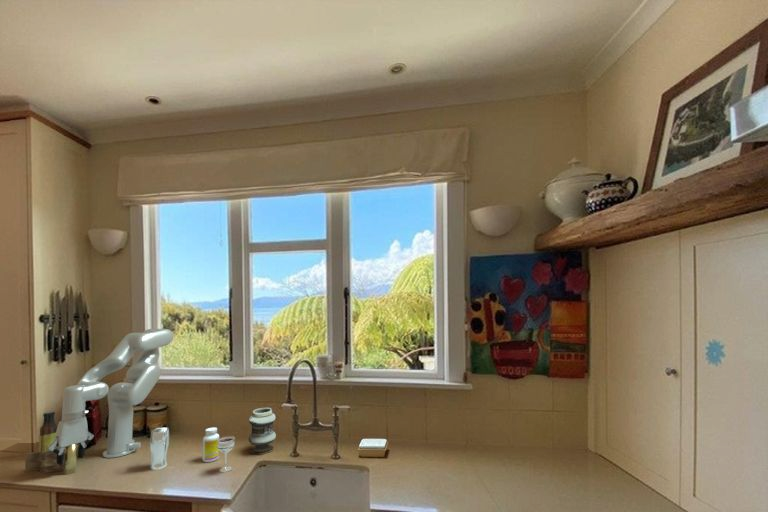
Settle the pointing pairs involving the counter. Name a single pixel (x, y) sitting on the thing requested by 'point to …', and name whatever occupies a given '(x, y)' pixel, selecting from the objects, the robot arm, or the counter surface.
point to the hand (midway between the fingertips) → (70, 460)
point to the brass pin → (70, 459)
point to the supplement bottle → (210, 445)
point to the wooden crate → (44, 461)
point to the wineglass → (226, 449)
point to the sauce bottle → (47, 431)
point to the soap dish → (372, 447)
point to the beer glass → (159, 447)
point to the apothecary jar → (262, 430)
